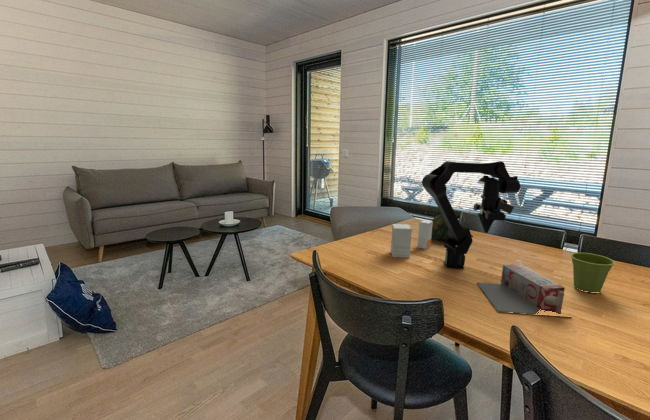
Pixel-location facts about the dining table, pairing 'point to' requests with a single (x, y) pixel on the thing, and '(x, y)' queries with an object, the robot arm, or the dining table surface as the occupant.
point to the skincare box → (424, 234)
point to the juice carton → (533, 287)
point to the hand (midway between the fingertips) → (485, 232)
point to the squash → (440, 228)
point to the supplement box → (401, 240)
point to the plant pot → (590, 271)
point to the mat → (507, 299)
